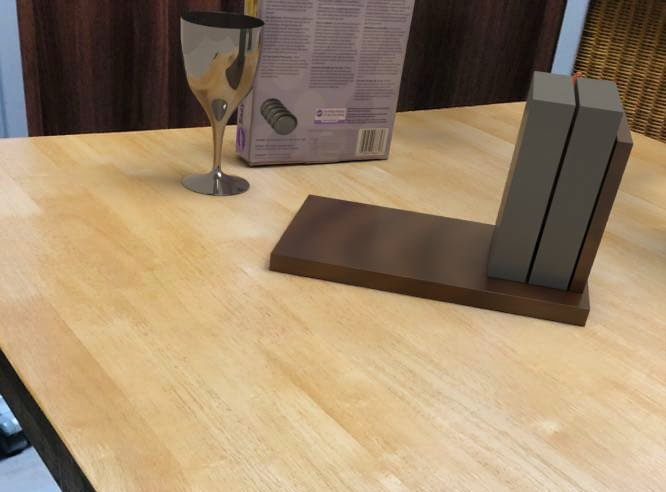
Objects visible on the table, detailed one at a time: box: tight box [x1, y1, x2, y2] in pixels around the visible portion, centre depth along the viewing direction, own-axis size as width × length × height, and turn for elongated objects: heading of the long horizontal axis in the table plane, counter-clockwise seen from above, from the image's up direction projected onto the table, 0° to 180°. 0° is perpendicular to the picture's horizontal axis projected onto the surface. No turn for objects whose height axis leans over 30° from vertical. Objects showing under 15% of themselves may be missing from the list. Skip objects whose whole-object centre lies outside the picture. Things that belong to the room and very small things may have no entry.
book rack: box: [269, 110, 634, 327], centre depth 75 cm, size 27×16×14 cm, turn 76°
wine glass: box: [179, 10, 265, 196], centre depth 86 cm, size 8×8×15 cm
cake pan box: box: [234, 0, 416, 166], centre depth 94 cm, size 19×5×18 cm, turn 113°
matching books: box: [487, 70, 625, 290], centre depth 72 cm, size 7×10×14 cm
